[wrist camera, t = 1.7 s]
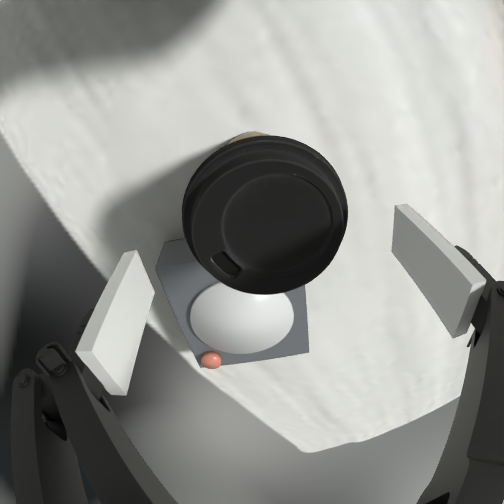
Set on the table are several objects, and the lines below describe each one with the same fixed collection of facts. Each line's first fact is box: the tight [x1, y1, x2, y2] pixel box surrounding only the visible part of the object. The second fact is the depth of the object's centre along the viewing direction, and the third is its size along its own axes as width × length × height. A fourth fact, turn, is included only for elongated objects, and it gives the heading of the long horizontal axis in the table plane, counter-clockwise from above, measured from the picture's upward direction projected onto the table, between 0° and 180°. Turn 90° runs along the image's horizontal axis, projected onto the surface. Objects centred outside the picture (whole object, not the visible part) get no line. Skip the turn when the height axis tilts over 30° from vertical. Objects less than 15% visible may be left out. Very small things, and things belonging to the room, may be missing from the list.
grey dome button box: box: [155, 238, 309, 369], centre depth 33 cm, size 16×14×6 cm
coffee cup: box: [182, 131, 348, 295], centre depth 22 cm, size 9×9×15 cm
